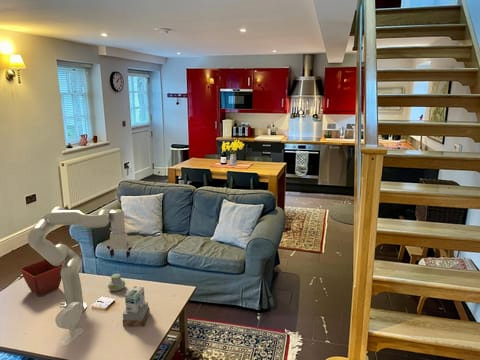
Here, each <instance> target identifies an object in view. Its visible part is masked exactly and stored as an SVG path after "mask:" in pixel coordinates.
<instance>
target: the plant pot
mask: <svg viewBox="0 0 480 360" xmlns="http://www.w3.org/2000/svg"><path fill="white" fill-rule="evenodd" d="M62 266H63V263H62V264H61V265H59V266H54V265H52V264H51V263H49V262H48V261H47V260H46V259H45V258H44V259H42V260H40V261H37V262H34V263H31V264H29V265H25V266H23V267H21V268H20V272H21V275H22V277H23V279H24V281H25V282H26V285H27V287H28V288H29V290H30V291H31V292H32V293H33V294H35V295H37V296H38V297H43V296H45V295H47V294H50V293H52V292H55V291H56V290H58V289H59V288H60V285H61V283H62V278H61V268H62Z"/></svg>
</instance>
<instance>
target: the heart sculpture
mask: <svg viewBox="0 0 480 360" xmlns="http://www.w3.org/2000/svg"><path fill="white" fill-rule="evenodd" d="M82 313H83V312H82V303H79V302H72V303H70V304H69V305H68V306H67V308H66V309H65V308H63V309H62V308H61V310H60V311H59V312H58V313H57V315H56V316H55V324H56V327H58V328H60V329H64V330H68V331H69V333H68V334H69V335H67V336H66V337H65V338H64V339H63V340H62V341H60V344H61V345H63V346H64V345H65V346H67V345H69V344H71V343H72V342H73V341H74V340H75V339H76V338H77V337H78V336H79V335H81V334H82V333H83V332H84V329H83V328H76V326H77V324H78V323H79V321H80V318H81V317H82ZM75 328H76V329H75Z"/></svg>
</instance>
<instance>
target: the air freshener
mask: <svg viewBox="0 0 480 360" xmlns="http://www.w3.org/2000/svg"><path fill="white" fill-rule="evenodd" d="M125 286H126V281H125V280H124V279H122V277H121V274H120V273H113V274H112V275H111V277H110V282H108V284H107V289H109V290H110V291H111V292H117V291H121V290H122V289H123V288H125Z"/></svg>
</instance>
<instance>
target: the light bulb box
mask: <svg viewBox="0 0 480 360" xmlns="http://www.w3.org/2000/svg"><path fill="white" fill-rule="evenodd" d="M144 287H145V286H140V285H133V286H132V287H131V288H130V289H129V290H128V291H127V292H126V293H125V294H124V299H125V300H124V301H125V303H124V304H125V309H126V312H132V313H137V312H138V311H139V310H140V308H141V307H142V306H143V305H144V304H145V302H146V299H145V288H144Z"/></svg>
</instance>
